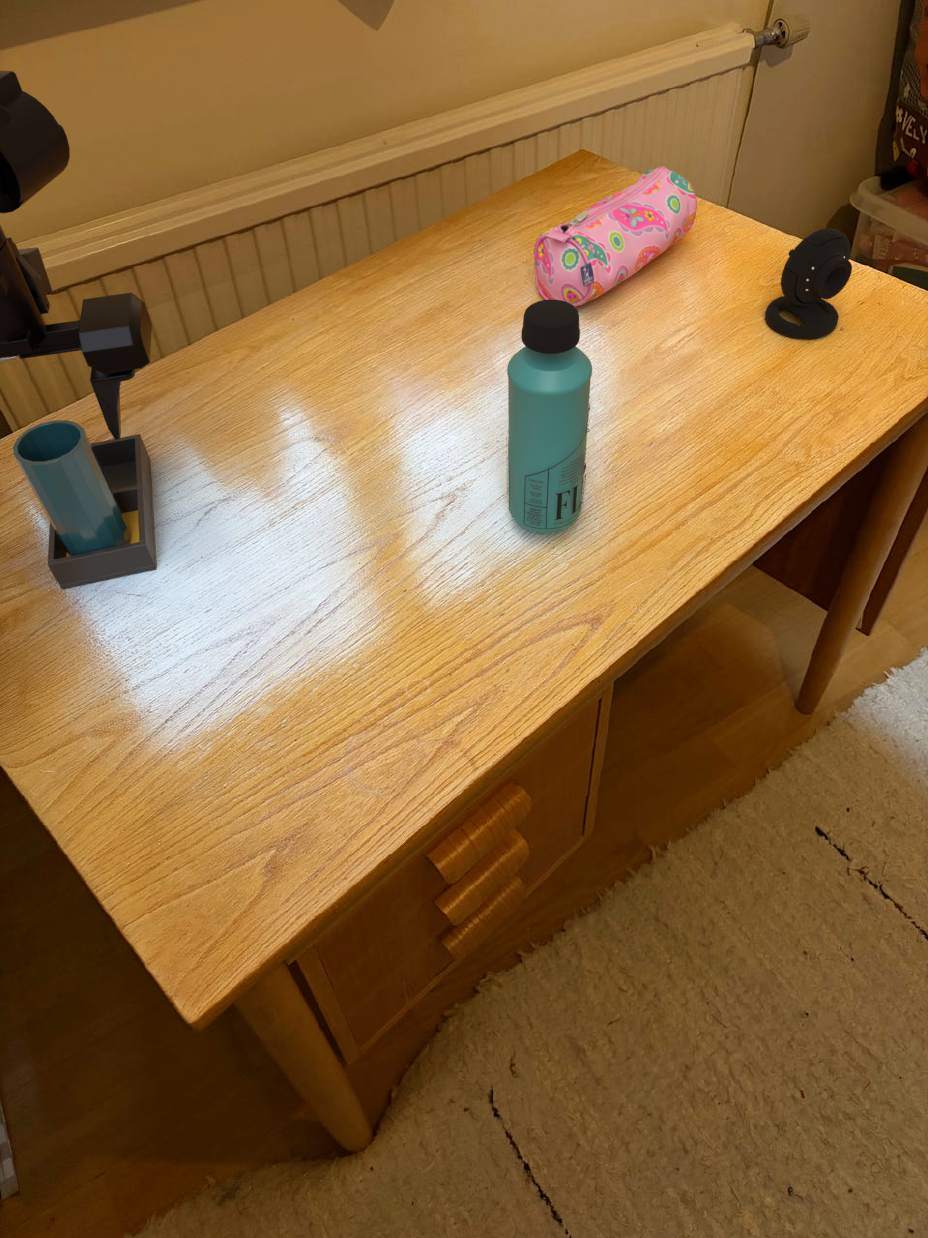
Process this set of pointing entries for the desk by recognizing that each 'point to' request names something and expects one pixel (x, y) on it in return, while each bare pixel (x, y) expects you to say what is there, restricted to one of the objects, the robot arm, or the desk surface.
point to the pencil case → (614, 237)
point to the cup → (71, 487)
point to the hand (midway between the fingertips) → (56, 445)
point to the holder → (133, 493)
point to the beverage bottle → (548, 419)
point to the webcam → (812, 285)
